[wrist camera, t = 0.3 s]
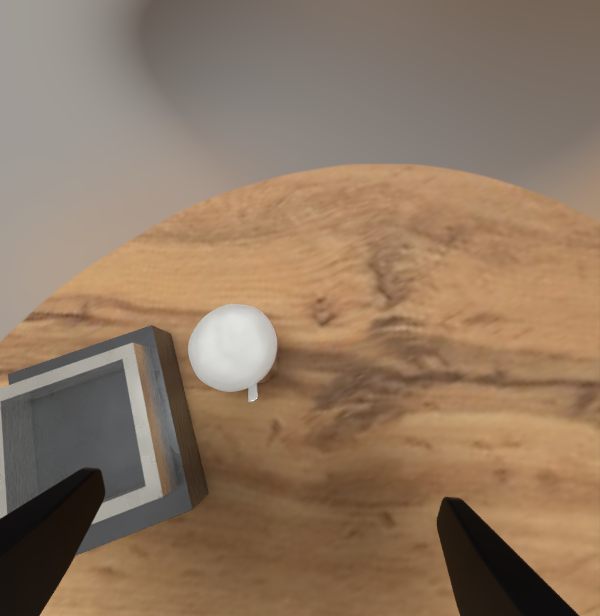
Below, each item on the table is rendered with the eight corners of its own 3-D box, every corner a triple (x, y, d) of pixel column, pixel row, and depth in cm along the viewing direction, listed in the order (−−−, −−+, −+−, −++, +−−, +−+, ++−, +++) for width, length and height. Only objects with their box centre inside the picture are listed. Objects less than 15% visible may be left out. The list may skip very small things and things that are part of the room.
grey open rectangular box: (208, 493, 20) (178, 523, 16) (63, 550, 20) (-15, 600, 15) (170, 333, 24) (136, 318, 19) (45, 376, 23) (-24, 371, 18)
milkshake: (248, 414, 22) (204, 428, 12) (219, 351, 23) (158, 320, 14) (302, 383, 22) (299, 374, 13) (270, 324, 24) (246, 275, 14)
